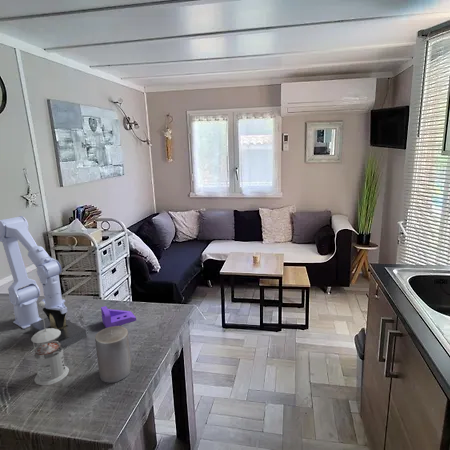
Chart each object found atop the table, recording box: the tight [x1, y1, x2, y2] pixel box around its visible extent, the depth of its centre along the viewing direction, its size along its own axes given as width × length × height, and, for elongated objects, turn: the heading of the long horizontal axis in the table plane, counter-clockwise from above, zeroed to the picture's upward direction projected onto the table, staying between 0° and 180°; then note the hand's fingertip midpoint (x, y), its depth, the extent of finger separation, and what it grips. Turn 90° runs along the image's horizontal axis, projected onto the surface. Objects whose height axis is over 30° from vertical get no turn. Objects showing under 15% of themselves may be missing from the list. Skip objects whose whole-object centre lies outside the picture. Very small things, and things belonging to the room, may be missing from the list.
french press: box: [30, 300, 70, 386], centre depth 104 cm, size 10×12×25 cm
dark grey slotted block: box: [30, 316, 87, 350], centre depth 129 cm, size 22×10×3 cm, turn 54°
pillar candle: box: [94, 325, 132, 384], centre depth 104 cm, size 10×10×15 cm
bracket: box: [100, 305, 137, 328], centre depth 138 cm, size 12×7×7 cm, turn 122°
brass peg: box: [49, 313, 67, 330], centre depth 129 cm, size 4×4×7 cm
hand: (57, 325), depth 129 cm, fingers closed on brass peg, 4 cm apart
